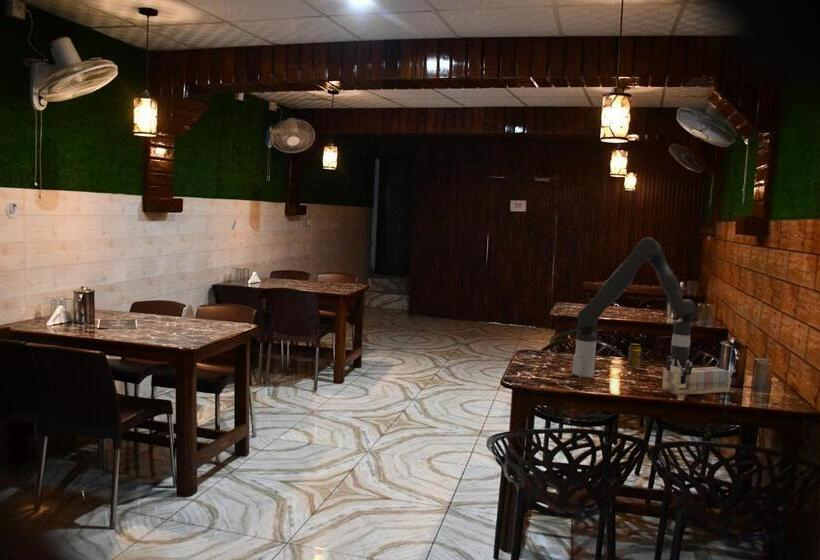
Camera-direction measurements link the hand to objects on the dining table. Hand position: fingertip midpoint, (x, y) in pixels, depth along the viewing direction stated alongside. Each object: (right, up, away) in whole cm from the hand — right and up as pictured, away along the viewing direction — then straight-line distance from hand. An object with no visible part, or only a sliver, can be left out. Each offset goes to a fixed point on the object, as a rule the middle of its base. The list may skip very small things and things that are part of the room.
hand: (677, 382), depth 288 cm
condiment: (-2, 0, +53) cm, 53 cm away
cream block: (0, -2, 0) cm, 2 cm away
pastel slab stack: (+10, -5, +4) cm, 11 cm away
